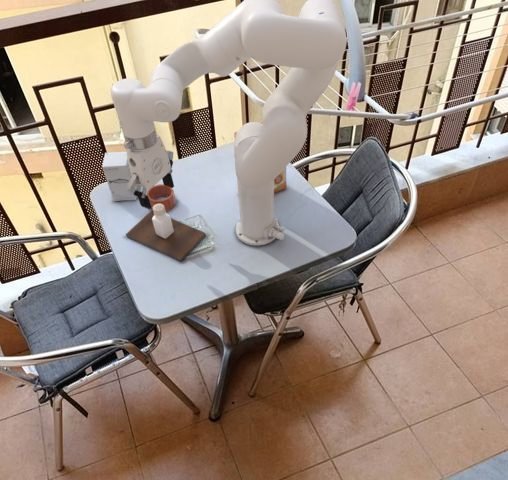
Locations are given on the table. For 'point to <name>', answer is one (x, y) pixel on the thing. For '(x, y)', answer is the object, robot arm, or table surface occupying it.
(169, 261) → the table surface
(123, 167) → the white packaging box
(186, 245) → the walnut board
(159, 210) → the pepper shaker
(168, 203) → the crock
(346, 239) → the table surface
